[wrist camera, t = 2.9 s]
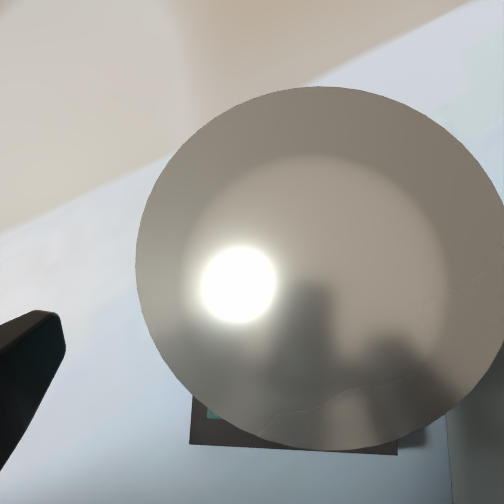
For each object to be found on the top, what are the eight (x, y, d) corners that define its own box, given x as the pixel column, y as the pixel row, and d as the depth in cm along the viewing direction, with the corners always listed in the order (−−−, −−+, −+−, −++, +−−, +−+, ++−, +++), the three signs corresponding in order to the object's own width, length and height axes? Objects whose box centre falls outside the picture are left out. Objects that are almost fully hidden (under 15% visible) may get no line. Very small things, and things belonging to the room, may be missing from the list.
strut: (356, 411, 14) (656, 567, 3) (228, 405, 15) (24, 523, 3) (352, 285, 15) (549, 29, 4) (234, 282, 16) (104, 41, 4)
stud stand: (390, 450, 15) (427, 476, 11) (195, 439, 15) (165, 461, 11) (380, 259, 17) (409, 224, 13) (208, 256, 17) (186, 222, 13)
